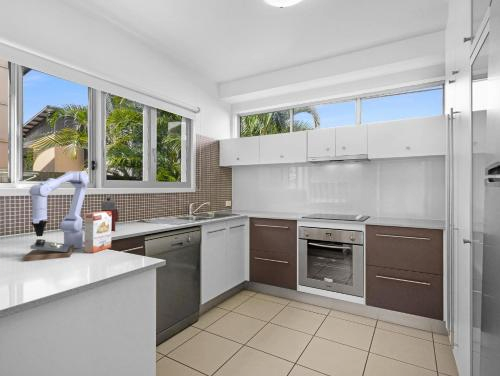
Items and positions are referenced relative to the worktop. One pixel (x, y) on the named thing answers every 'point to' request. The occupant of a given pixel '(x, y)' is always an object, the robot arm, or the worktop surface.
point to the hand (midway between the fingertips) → (39, 236)
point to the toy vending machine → (111, 207)
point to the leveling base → (47, 254)
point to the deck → (50, 246)
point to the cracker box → (97, 231)
